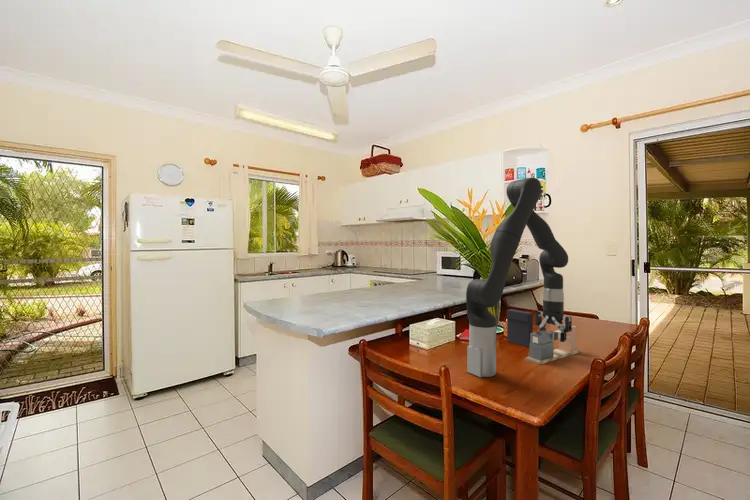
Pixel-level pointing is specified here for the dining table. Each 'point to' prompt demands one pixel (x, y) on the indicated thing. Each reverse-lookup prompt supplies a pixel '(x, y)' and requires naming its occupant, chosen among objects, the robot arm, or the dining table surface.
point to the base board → (557, 355)
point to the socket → (569, 341)
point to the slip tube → (555, 336)
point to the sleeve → (541, 346)
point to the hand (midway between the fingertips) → (552, 339)
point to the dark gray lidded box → (519, 327)
